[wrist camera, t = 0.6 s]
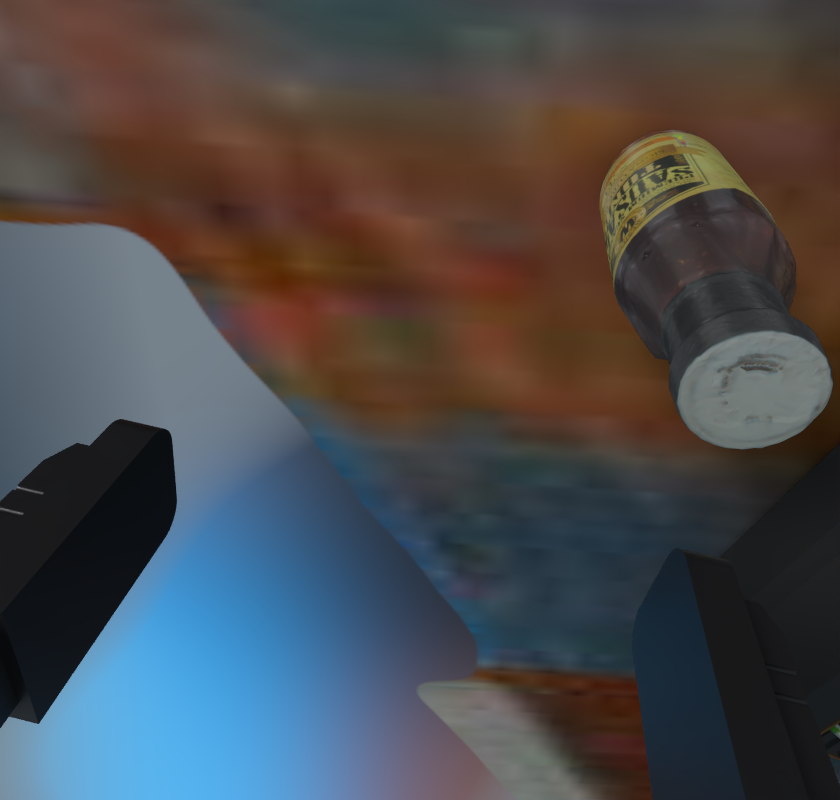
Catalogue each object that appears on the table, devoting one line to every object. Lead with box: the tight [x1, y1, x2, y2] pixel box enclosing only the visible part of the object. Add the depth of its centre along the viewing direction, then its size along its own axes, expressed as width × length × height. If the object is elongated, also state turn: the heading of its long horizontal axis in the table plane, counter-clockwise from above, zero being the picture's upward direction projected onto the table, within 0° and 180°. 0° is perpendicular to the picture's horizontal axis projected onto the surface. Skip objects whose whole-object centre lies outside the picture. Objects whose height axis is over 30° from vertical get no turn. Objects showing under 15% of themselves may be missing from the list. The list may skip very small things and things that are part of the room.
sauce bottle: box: [600, 130, 833, 449], centre depth 26 cm, size 7×6×20 cm
